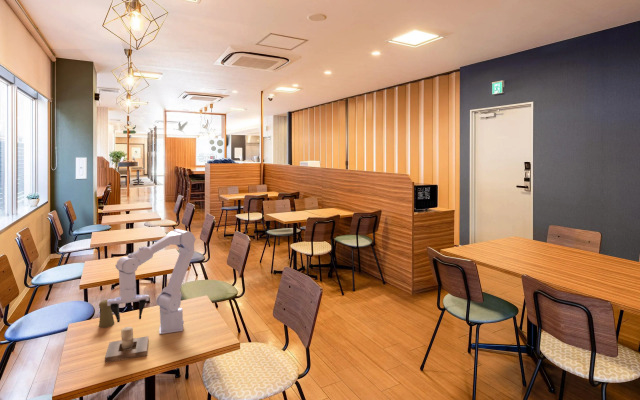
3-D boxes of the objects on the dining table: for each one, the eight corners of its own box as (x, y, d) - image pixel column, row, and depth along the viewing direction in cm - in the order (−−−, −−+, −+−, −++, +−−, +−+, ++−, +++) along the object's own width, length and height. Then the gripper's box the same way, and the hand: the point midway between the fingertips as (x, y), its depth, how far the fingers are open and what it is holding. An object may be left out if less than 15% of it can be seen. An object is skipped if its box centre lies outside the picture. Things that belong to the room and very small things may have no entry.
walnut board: (148, 340, 152) (148, 336, 152) (147, 355, 141) (146, 350, 141) (109, 346, 147) (109, 342, 146) (105, 362, 136) (104, 357, 135)
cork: (107, 328, 162) (106, 304, 160) (95, 326, 163) (94, 302, 162) (117, 322, 168) (116, 299, 166) (106, 320, 169) (104, 297, 168)
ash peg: (132, 347, 147) (131, 325, 146) (134, 351, 143) (133, 329, 142) (121, 350, 144) (120, 328, 143) (122, 355, 141) (121, 332, 140)
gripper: (148, 281, 153) (149, 312, 154) (108, 286, 147) (110, 318, 149) (147, 287, 146) (149, 319, 148) (105, 292, 140) (107, 326, 142)
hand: (129, 319), depth 148 cm, fingers open, 7 cm apart
